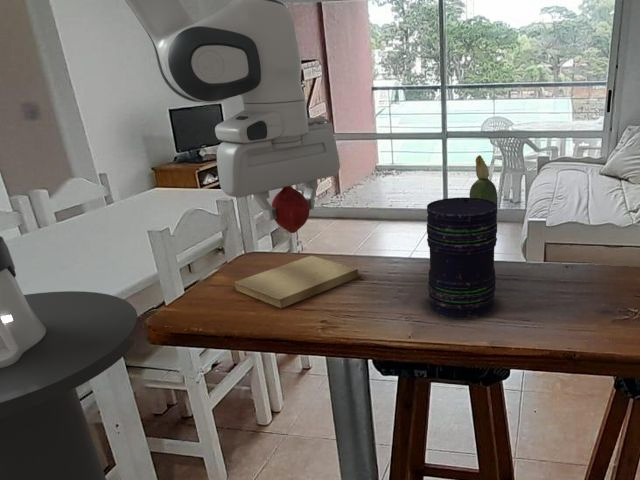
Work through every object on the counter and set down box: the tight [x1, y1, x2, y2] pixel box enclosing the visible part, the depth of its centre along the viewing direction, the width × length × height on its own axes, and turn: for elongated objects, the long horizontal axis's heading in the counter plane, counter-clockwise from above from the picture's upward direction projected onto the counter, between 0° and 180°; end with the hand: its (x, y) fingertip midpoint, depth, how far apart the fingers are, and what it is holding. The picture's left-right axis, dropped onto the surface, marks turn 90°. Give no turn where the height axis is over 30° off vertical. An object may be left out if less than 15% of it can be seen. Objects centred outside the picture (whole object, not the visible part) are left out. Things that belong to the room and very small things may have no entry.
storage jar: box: [426, 196, 498, 320], centre depth 82 cm, size 10×10×15 cm
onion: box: [271, 186, 310, 234], centre depth 89 cm, size 6×6×8 cm
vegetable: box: [469, 154, 499, 216], centre depth 90 cm, size 4×4×20 cm
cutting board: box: [234, 255, 359, 309], centre depth 94 cm, size 16×12×2 cm
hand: (289, 214), depth 90 cm, fingers closed on onion, 6 cm apart
